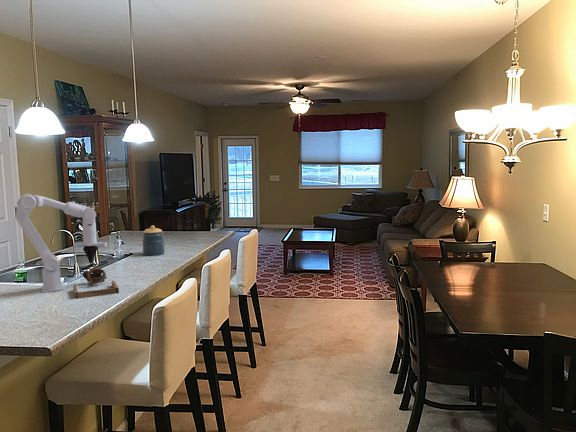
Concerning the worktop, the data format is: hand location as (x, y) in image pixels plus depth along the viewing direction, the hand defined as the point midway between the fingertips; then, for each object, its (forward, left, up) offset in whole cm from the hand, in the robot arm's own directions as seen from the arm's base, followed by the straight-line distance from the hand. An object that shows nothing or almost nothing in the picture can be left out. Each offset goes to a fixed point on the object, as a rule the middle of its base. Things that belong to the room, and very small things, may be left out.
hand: (91, 262), depth 226 cm
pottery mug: (-1, +1, -11) cm, 11 cm away
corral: (+14, 0, -10) cm, 17 cm away
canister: (-59, +40, -11) cm, 72 cm away
